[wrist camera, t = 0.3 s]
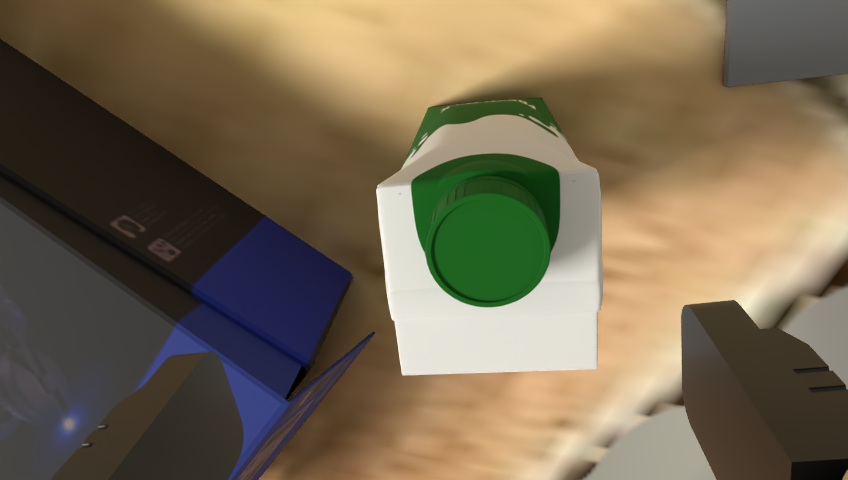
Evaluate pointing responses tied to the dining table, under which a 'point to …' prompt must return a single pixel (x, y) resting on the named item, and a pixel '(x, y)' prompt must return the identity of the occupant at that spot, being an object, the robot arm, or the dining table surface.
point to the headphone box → (139, 281)
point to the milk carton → (492, 244)
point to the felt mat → (784, 40)
